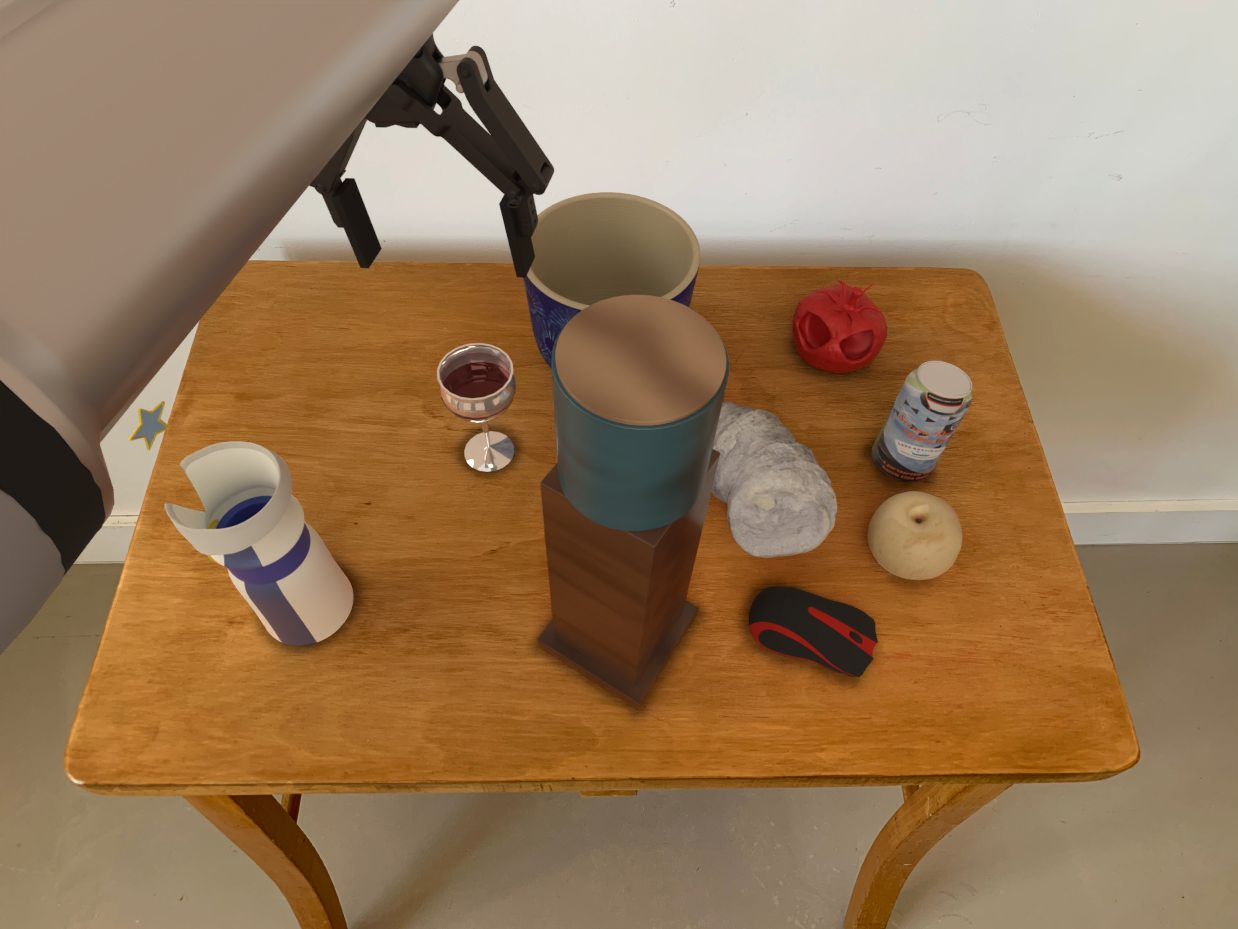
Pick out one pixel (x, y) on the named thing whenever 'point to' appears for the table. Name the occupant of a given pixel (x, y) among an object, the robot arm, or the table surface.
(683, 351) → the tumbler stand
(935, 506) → the apple
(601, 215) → the planter
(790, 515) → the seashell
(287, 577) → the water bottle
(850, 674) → the computer mouse
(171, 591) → the table surface
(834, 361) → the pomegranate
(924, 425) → the beverage can
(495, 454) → the wineglass
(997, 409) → the table surface
